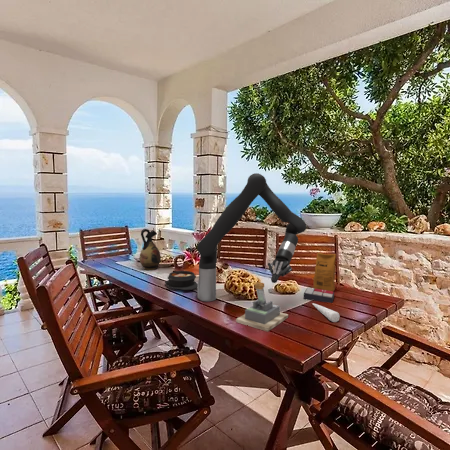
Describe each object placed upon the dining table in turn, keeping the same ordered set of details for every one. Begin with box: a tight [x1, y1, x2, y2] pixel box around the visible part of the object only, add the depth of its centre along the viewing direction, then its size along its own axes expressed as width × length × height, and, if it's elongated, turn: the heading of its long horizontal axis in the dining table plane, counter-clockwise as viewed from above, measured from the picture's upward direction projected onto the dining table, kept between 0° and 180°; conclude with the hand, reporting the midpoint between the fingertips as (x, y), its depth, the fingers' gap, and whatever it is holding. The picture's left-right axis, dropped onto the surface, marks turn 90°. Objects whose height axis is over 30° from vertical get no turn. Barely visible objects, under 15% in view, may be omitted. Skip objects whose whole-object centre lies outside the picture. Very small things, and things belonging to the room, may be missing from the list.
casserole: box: [164, 270, 198, 291], centre depth 195 cm, size 25×19×8 cm
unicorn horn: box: [311, 303, 341, 323], centre depth 156 cm, size 5×24×5 cm, turn 6°
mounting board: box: [235, 311, 289, 333], centre depth 147 cm, size 19×16×2 cm
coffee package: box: [312, 252, 337, 292], centre depth 191 cm, size 10×12×22 cm
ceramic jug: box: [139, 228, 162, 271], centre depth 239 cm, size 17×15×30 cm
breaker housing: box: [244, 299, 281, 324], centre depth 146 cm, size 14×10×7 cm
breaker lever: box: [254, 281, 267, 307], centre depth 144 cm, size 3×4×12 cm
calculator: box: [303, 287, 335, 304], centre depth 177 cm, size 11×4×15 cm
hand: (273, 282), depth 153 cm, fingers closed
